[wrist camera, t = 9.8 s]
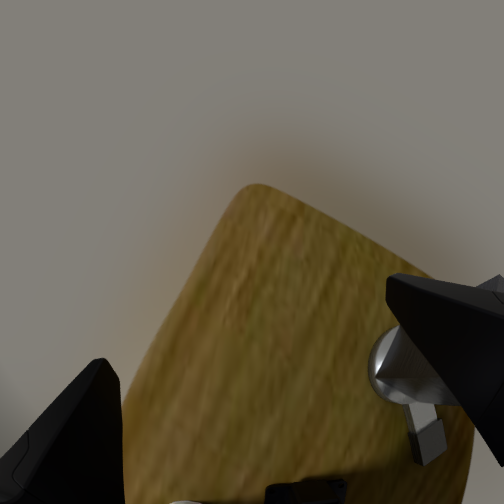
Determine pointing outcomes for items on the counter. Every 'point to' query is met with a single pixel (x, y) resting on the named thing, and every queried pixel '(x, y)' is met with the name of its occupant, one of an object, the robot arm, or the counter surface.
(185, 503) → the white tapered cup
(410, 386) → the dark grey square block
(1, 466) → the robot arm
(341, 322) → the counter surface
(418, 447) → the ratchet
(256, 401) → the counter surface
